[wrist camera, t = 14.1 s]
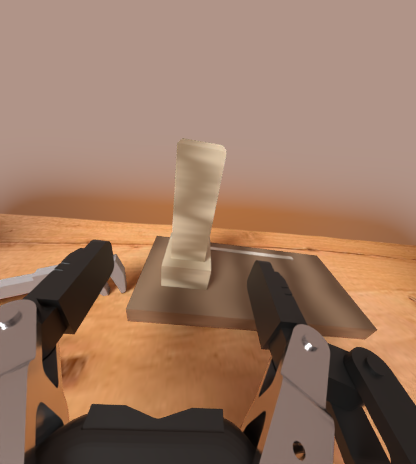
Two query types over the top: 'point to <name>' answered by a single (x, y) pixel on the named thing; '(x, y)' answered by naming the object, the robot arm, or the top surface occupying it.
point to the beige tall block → (193, 214)
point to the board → (246, 293)
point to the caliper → (30, 281)
